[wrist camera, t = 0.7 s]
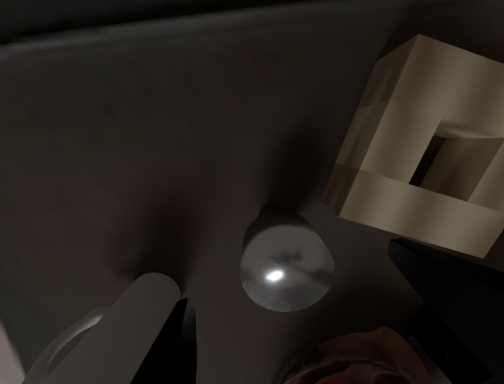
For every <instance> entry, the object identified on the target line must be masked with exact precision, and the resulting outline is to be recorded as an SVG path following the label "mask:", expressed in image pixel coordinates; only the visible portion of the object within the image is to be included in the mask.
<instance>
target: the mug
mask: <svg viewBox="0 0 504 384" xmlns="http://www.w3.org/2000/svg"><path fill="white" fill-rule="evenodd" d="M180 299H181V292H180V289H179V287H178V285H177V283H176V282H175V281H174V280H173V279H171V278H170V277H168V276H167V275H164V274H161V273H147V274H144V275H142V276H140V277H139V278H137V279H136V280H135V281H134V283H133V284H132V285H131V286H130V287H129V288H128V289H127V290H126V291H125V292H124V293H123V294H122V295H121V297H120V298H119V299H118V300H117V301H116V302H115V303H114V304H113V306H99V307H97V308H95V309H94V310H93V311H91V312H90V313H88V314H87V315H86V316H84V317H83V318H81V319H80V320H79V321H77V322H76V323H74V324H73V325H72V326H70V327H69V328H68V329H66V330H65V331H64V332H63V333H61V334H60V335H59V336H58V337H57V338H56V339H55V340H53V341H52V342H51V343H50V344H49V345H48V346H47V347H46V348H45V350H44V351H43V352H42V353H41V354H40V356H39V357H38V358H37V360H36V361H35V362H34V364H33V365H32V367H31V369H30V370H29V372H28V374H27V375H26V377H25V379H24V381H23V383H22V384H130V382H131V381H132V379H133V377H134V375H135V374H136V372H137V370H138V369H139V367H140V365H141V363H142V362H143V360H144V358H145V356H146V355H147V353H148V351H149V349H150V348H151V346H152V344H153V342H154V341H155V339H156V337H157V336H158V334H159V332H160V330H161V329H162V327H163V325H164V323H165V322H166V320H167V318H168V316H169V315H170V313H171V311H172V309H173V308H174V306H175V304H176V303H177V301H179V300H180ZM92 325H95V326H94V327H93V328H92V329H91V330H90V331H89V332H88V333H87V334H86V335H85V337H84V338H83V339H82V340H81V341H80V342H79V343H78V344H77V345H76V347H75V348H74V349H73V350H72V351H71V352H70V353H69V354H68V355H67V356H66V358H65V359H64V360H63V361H62V362H61V363H60V364H59V365H58V366H57V368H56V369H55V370H54V371H53V372H52V373H49V372H48V367H49V365H50V363H51V361H52V359H53V358H54V356H55V355H56V354H57V352H58V351H59V350H60V349H61V348H62V347H63V346H64V345H65V344H66V343H67V342H68V341H70V340H71V339H72V338H73V337H74V336H76V335H77V334H78V333H80V332H81V331H83V330H85V329H86V328H88V327H90V326H92Z"/></svg>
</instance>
